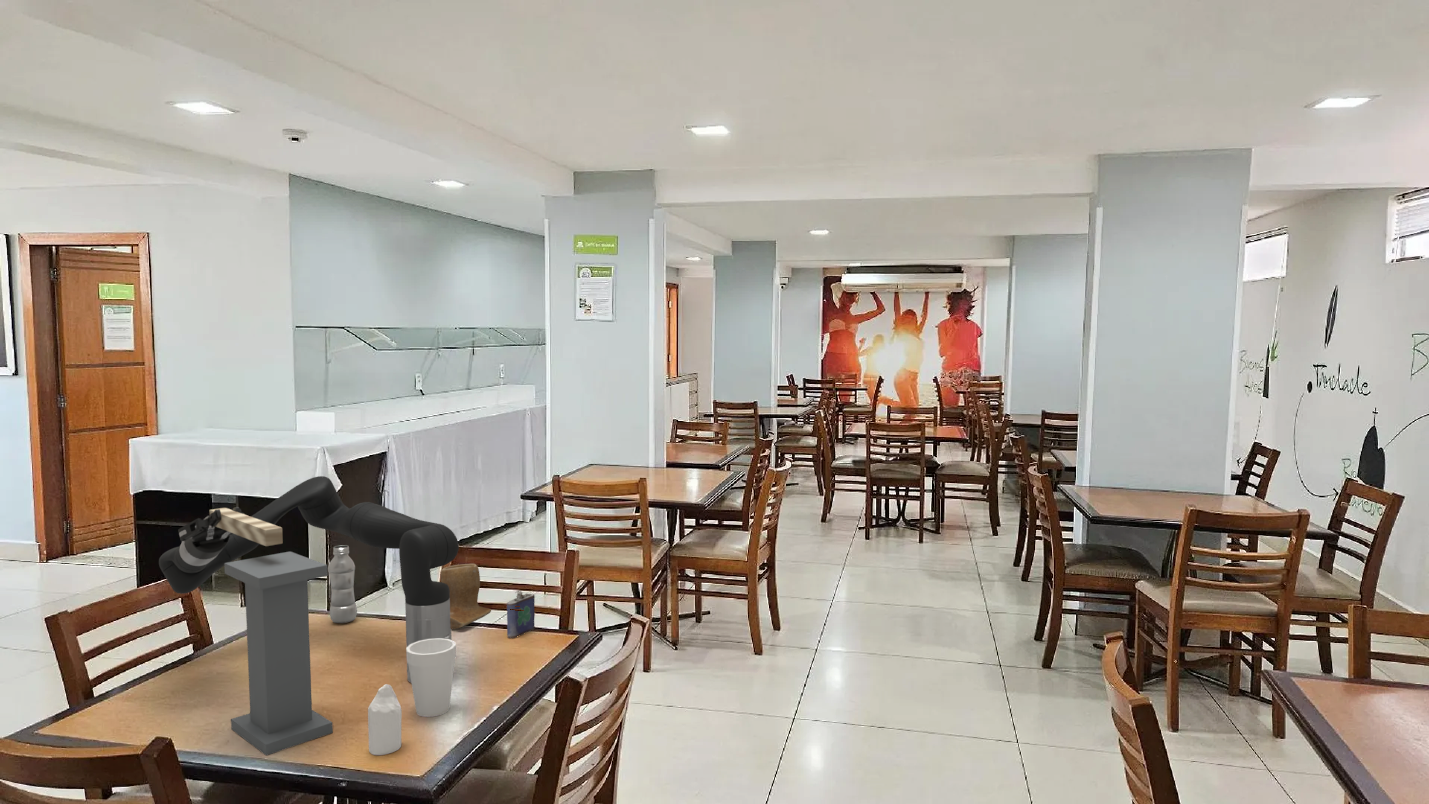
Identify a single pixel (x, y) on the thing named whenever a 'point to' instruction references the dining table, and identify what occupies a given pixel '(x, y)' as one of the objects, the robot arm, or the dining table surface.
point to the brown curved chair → (463, 594)
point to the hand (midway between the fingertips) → (228, 512)
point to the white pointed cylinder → (384, 722)
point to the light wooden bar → (249, 527)
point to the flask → (520, 615)
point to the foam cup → (431, 674)
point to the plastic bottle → (342, 586)
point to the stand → (278, 651)
